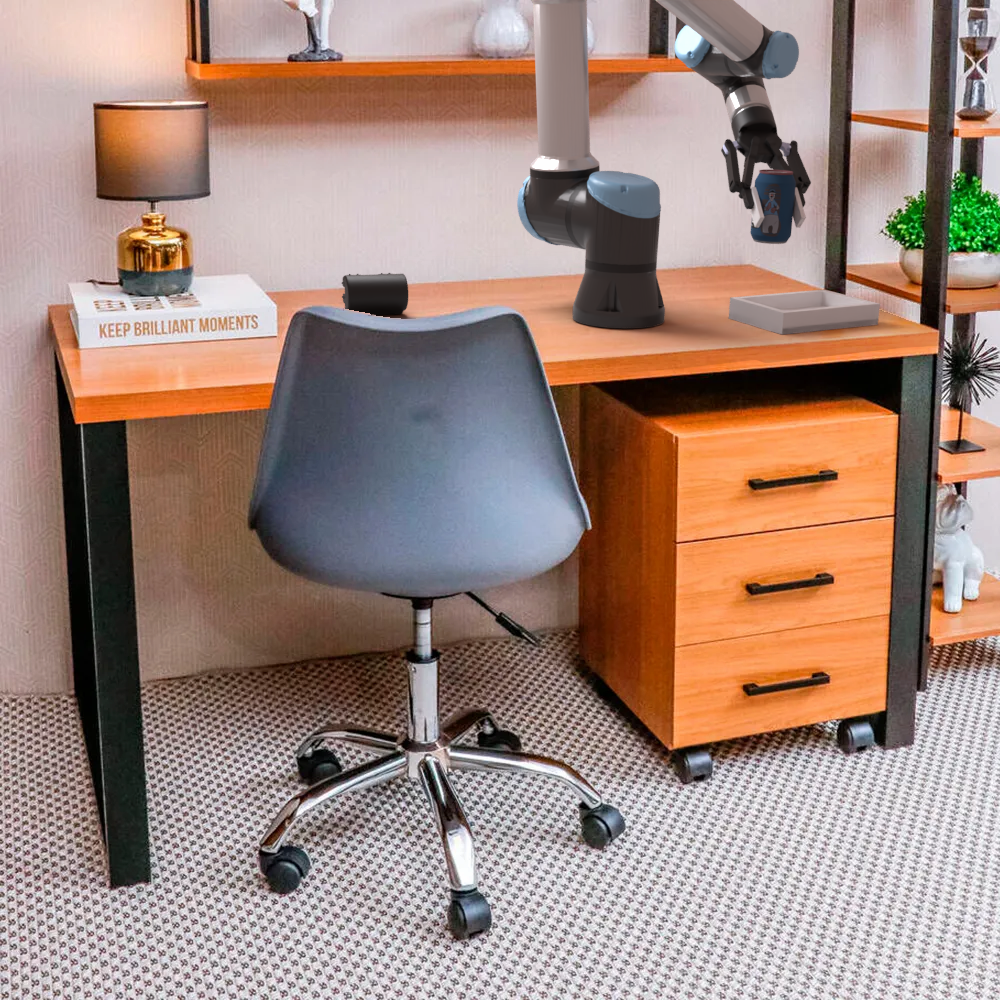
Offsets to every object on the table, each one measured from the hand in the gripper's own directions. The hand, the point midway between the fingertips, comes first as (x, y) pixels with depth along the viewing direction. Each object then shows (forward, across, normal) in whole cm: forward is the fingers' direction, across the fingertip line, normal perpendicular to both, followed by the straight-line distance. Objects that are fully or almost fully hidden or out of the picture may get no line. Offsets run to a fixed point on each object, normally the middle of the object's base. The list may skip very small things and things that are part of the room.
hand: (780, 222), depth 244 cm
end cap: (+9, +69, -14) cm, 71 cm away
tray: (+19, 0, -2) cm, 19 cm away
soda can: (0, 0, -5) cm, 5 cm away
